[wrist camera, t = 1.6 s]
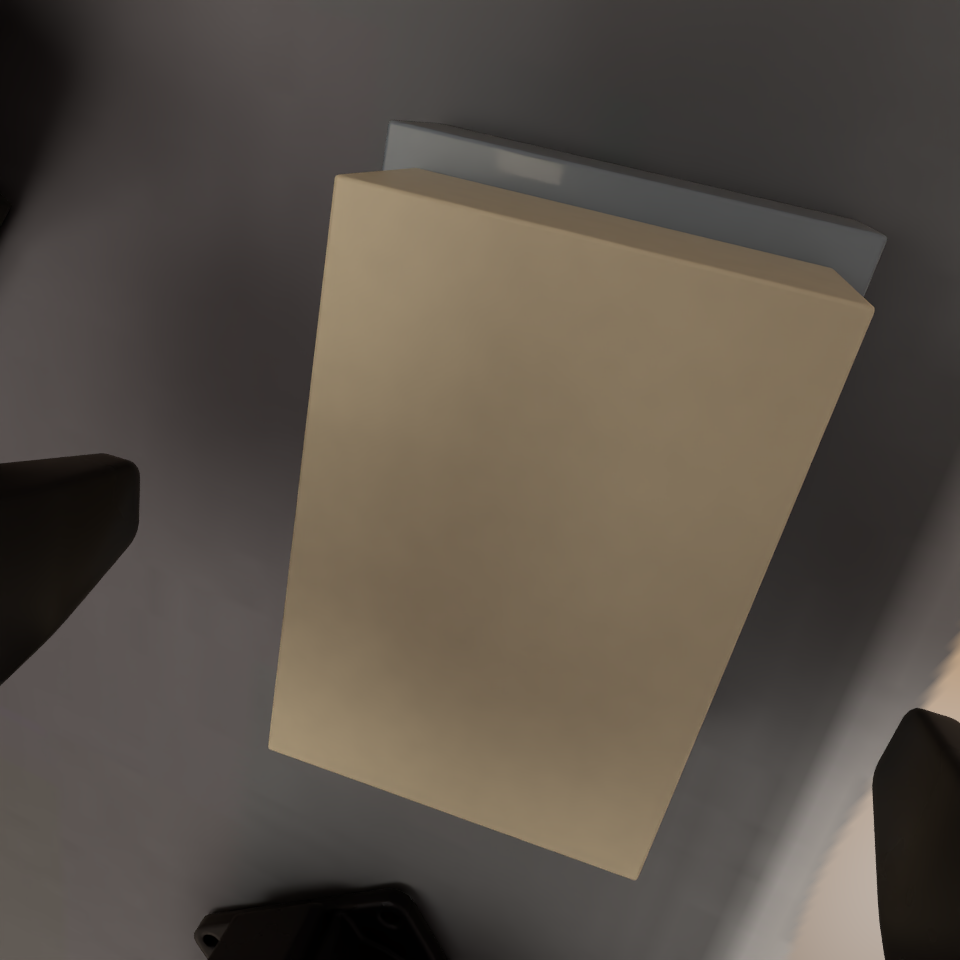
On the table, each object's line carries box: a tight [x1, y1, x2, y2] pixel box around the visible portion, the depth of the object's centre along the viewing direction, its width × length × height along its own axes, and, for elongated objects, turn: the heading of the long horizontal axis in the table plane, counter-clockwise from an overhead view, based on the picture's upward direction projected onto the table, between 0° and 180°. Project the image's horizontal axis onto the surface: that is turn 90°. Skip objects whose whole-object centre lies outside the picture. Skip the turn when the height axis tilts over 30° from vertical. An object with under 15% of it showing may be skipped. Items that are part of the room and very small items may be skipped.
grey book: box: [382, 120, 887, 297], centre depth 13 cm, size 9×6×2 cm
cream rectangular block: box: [268, 168, 875, 880], centre depth 11 cm, size 8×6×3 cm
